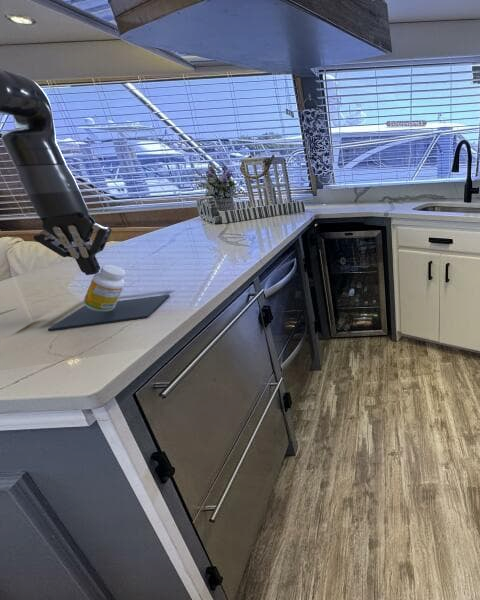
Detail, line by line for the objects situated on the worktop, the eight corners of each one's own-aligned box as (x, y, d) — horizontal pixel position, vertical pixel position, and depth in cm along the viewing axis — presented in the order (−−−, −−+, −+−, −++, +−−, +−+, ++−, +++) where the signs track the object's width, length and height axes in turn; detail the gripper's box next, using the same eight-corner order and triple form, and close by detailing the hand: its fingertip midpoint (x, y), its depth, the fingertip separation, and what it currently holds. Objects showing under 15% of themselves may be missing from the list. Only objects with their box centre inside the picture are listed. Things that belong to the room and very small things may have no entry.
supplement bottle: (90, 295, 74) (105, 260, 72) (118, 305, 76) (133, 271, 74) (77, 305, 69) (92, 268, 67) (107, 315, 72) (123, 279, 70)
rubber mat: (48, 331, 66) (47, 329, 66) (86, 306, 78) (85, 304, 78) (147, 317, 70) (147, 315, 70) (169, 296, 82) (169, 294, 82)
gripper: (103, 186, 68) (135, 264, 75) (27, 192, 65) (68, 273, 72) (81, 188, 61) (118, 274, 68) (-5, 195, 58) (44, 284, 65)
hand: (92, 273), depth 70 cm, fingers closed
